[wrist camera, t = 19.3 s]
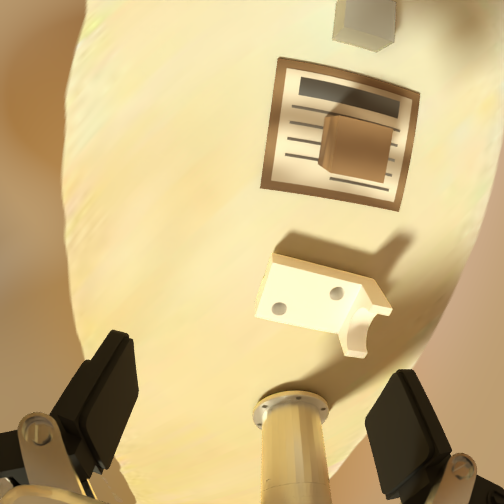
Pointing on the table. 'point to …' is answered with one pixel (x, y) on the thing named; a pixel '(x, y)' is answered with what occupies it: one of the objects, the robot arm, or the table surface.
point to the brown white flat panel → (311, 128)
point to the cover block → (365, 23)
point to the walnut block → (355, 148)
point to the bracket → (321, 300)
